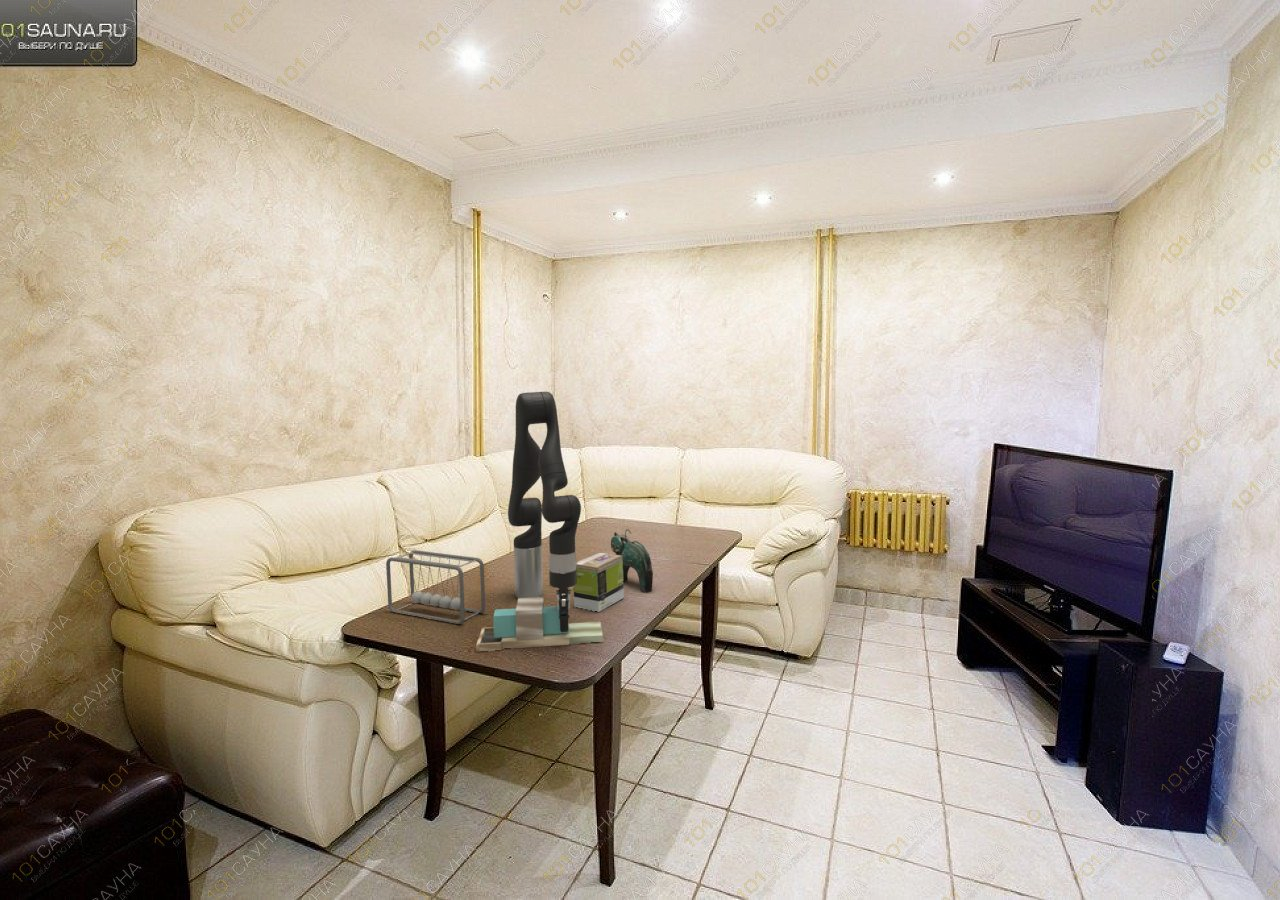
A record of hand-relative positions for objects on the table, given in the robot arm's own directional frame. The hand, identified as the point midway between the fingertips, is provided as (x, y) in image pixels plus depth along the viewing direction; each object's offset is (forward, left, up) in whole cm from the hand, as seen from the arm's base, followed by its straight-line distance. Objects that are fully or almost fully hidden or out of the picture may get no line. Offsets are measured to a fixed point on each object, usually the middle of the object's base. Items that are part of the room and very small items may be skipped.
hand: (564, 627), depth 162 cm
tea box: (-26, +11, -3) cm, 29 cm away
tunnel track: (0, -6, -3) cm, 7 cm away
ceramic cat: (-42, +24, -3) cm, 49 cm away
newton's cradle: (-25, -39, -3) cm, 47 cm away
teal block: (0, -9, -1) cm, 9 cm away
